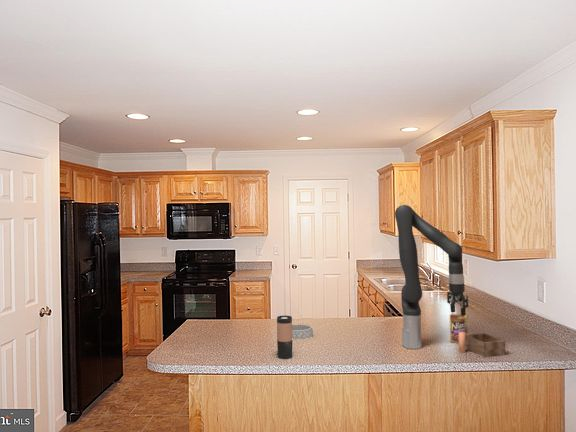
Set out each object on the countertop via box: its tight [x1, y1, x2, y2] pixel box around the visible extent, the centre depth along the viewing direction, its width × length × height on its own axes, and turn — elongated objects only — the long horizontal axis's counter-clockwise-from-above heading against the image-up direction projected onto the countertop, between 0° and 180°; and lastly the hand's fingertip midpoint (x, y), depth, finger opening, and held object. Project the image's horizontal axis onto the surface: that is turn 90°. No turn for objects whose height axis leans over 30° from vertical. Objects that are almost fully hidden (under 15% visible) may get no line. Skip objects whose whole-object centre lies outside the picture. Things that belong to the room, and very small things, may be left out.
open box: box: [465, 332, 506, 358], centre depth 237 cm, size 12×16×7 cm
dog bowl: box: [292, 323, 314, 340], centre depth 275 cm, size 17×18×5 cm
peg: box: [458, 332, 466, 354], centre depth 237 cm, size 3×3×10 cm
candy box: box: [449, 312, 469, 344], centre depth 254 cm, size 9×4×15 cm, turn 60°
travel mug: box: [276, 315, 293, 360], centre depth 234 cm, size 8×8×20 cm
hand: (458, 313), depth 239 cm, fingers open, 8 cm apart
